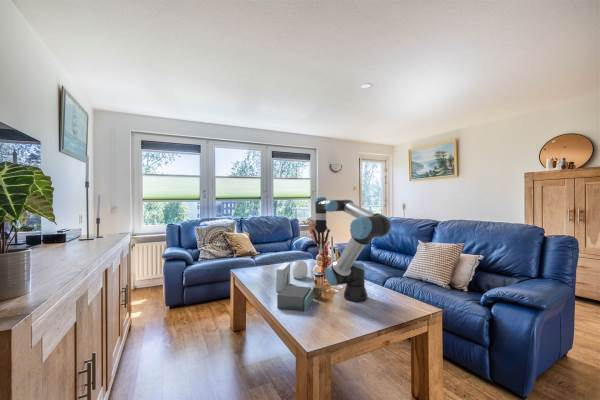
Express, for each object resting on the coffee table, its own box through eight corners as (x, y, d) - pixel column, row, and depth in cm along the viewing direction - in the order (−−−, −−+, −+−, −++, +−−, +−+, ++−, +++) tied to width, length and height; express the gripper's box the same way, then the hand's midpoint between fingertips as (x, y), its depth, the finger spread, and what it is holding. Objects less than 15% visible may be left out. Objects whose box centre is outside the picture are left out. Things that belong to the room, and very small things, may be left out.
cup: (291, 275, 223) (291, 259, 223) (306, 275, 224) (306, 259, 224) (292, 280, 210) (292, 263, 210) (309, 279, 211) (308, 262, 211)
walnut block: (321, 296, 174) (321, 285, 174) (319, 299, 170) (319, 288, 170) (314, 296, 175) (314, 285, 175) (313, 298, 171) (313, 287, 171)
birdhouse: (313, 299, 168) (313, 289, 168) (306, 311, 151) (306, 299, 151) (289, 297, 172) (289, 287, 172) (280, 308, 155) (280, 296, 155)
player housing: (310, 299, 168) (310, 287, 168) (303, 311, 151) (303, 297, 151) (287, 297, 173) (286, 285, 173) (277, 308, 155) (277, 294, 155)
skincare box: (283, 292, 183) (283, 269, 183) (275, 292, 184) (275, 269, 184) (290, 283, 203) (290, 262, 203) (283, 282, 204) (283, 262, 204)
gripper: (330, 219, 186) (331, 252, 186) (312, 218, 189) (312, 251, 189) (329, 219, 179) (329, 254, 179) (310, 219, 182) (310, 254, 182)
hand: (321, 253), depth 184 cm, fingers closed
